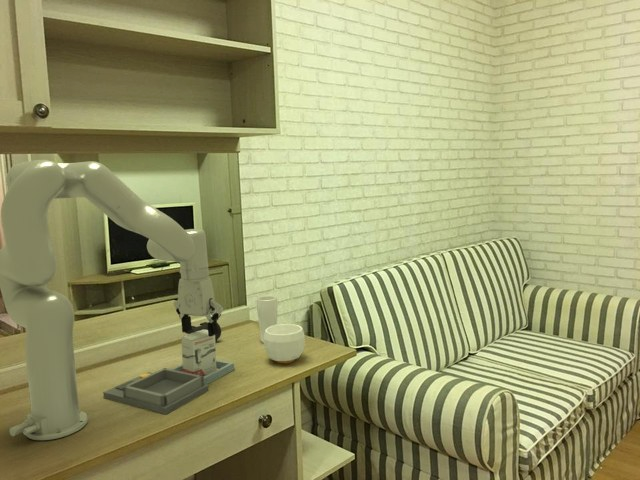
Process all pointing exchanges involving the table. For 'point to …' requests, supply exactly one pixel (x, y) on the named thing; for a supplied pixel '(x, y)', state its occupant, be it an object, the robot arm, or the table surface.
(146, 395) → the dock
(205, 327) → the end cap
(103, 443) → the table surface
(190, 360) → the ink box
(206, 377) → the blue-grey square frame
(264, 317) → the drinking glass
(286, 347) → the cup
